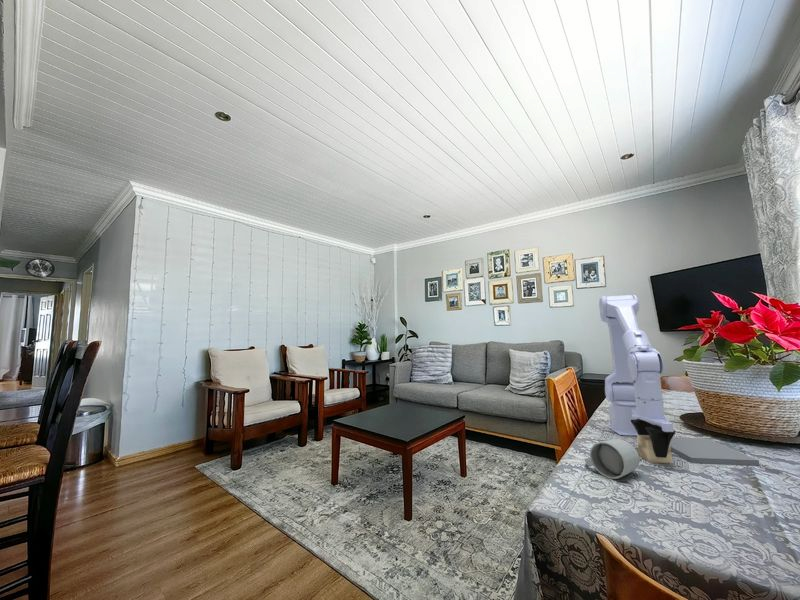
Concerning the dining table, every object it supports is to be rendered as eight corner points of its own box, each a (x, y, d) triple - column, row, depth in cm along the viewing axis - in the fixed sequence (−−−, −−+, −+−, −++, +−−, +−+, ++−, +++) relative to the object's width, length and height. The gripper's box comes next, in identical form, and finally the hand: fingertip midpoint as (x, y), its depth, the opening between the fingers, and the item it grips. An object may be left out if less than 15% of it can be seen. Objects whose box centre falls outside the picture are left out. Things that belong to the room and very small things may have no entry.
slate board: (653, 441, 94) (652, 436, 94) (708, 442, 91) (707, 438, 92) (691, 462, 78) (691, 457, 78) (759, 465, 76) (758, 460, 76)
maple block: (638, 454, 84) (636, 434, 85) (660, 455, 84) (657, 435, 84) (649, 462, 80) (647, 441, 80) (672, 463, 79) (670, 441, 79)
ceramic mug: (644, 474, 73) (639, 439, 74) (627, 484, 68) (622, 447, 69) (595, 460, 82) (592, 429, 83) (578, 468, 77) (574, 435, 78)
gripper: (618, 392, 91) (622, 442, 89) (647, 404, 77) (653, 463, 75) (645, 393, 90) (651, 443, 88) (680, 404, 75) (687, 464, 74)
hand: (654, 452), depth 82 cm, fingers closed on maple block, 5 cm apart
